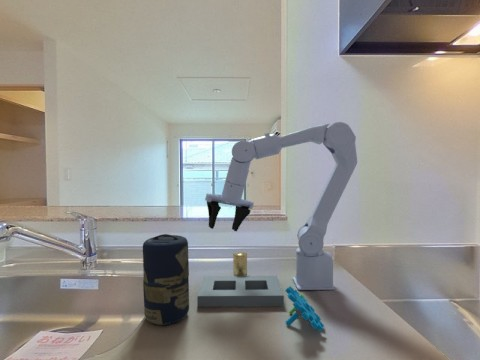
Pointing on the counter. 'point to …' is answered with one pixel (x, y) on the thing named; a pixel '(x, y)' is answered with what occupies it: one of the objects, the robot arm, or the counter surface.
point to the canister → (165, 278)
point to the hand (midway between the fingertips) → (222, 228)
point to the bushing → (240, 264)
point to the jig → (240, 291)
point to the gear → (302, 310)
